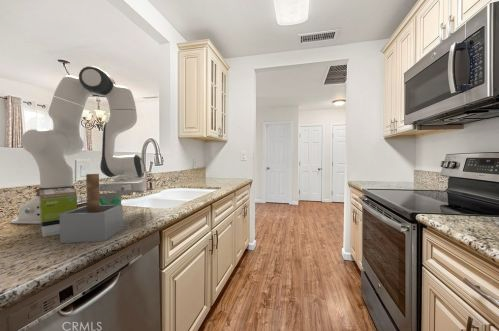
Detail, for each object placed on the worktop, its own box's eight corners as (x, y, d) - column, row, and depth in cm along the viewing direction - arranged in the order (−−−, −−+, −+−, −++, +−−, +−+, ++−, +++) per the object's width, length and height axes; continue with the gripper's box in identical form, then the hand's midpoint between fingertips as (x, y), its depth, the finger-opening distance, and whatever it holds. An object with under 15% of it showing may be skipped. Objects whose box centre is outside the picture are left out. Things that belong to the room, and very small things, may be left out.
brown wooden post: (77, 235, 74) (75, 174, 73) (86, 230, 79) (84, 173, 78) (103, 233, 75) (101, 174, 74) (110, 229, 80) (108, 173, 79)
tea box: (40, 228, 85) (38, 189, 85) (73, 222, 92) (72, 187, 92) (41, 237, 75) (39, 193, 74) (78, 230, 82) (77, 190, 81)
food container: (109, 215, 104) (109, 194, 103) (98, 214, 105) (98, 193, 105) (129, 209, 116) (128, 190, 115) (118, 209, 117) (118, 190, 117)
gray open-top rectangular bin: (60, 243, 69) (59, 214, 69) (85, 229, 82) (84, 205, 82) (105, 240, 71) (104, 212, 71) (122, 228, 84) (122, 204, 84)
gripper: (100, 178, 100) (81, 181, 87) (148, 177, 103) (137, 180, 89) (101, 192, 101) (82, 197, 87) (148, 190, 103) (137, 195, 89)
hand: (110, 188), depth 88 cm, fingers open, 8 cm apart
